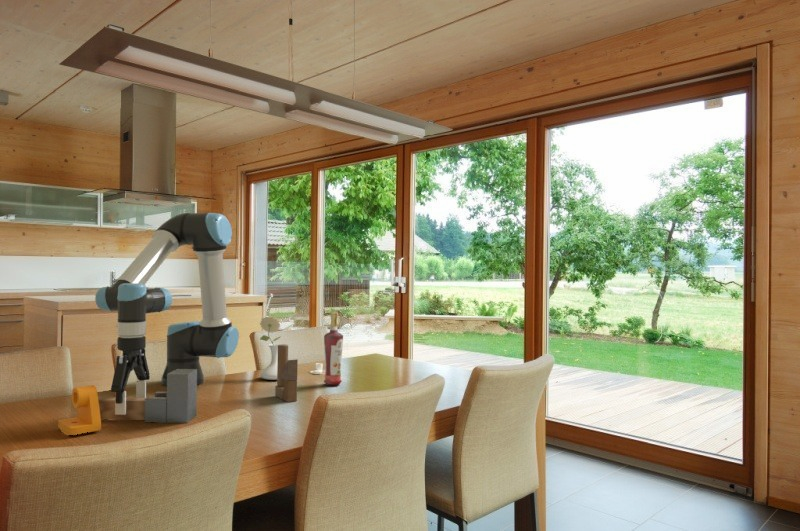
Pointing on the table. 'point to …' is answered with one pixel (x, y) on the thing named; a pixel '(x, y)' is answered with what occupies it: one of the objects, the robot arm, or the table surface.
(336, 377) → the liquor
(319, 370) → the teacup and saucer
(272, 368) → the flower in vase
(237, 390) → the table surface
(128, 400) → the brown wooden bar
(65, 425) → the bracket
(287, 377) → the wooden block
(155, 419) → the grey stepped block
